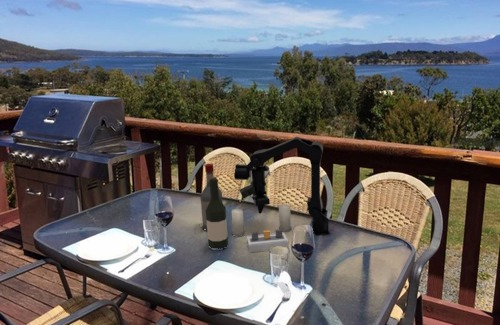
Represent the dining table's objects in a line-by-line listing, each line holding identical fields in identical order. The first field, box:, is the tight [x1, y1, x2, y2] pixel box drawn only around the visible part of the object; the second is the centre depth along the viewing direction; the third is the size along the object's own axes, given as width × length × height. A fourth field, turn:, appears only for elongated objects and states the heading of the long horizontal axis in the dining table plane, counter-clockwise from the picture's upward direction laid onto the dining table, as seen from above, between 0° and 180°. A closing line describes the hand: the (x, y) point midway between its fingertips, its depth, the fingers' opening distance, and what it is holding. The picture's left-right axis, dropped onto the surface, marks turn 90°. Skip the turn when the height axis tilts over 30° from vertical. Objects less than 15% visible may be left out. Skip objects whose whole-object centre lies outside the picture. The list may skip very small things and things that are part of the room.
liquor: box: [200, 163, 224, 231], centre depth 191 cm, size 9×9×30 cm
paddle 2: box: [275, 228, 282, 238], centre depth 174 cm, size 2×1×3 cm, turn 98°
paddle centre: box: [263, 229, 271, 239], centre depth 173 cm, size 2×1×3 cm, turn 97°
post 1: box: [231, 208, 246, 237], centre depth 186 cm, size 6×6×11 cm
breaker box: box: [246, 232, 290, 253], centre depth 174 cm, size 16×9×3 cm, turn 97°
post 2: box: [278, 203, 293, 233], centre depth 188 cm, size 6×6×11 cm
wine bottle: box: [206, 176, 229, 249], centre depth 172 cm, size 8×8×30 cm
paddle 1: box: [251, 230, 259, 240], centre depth 173 cm, size 2×1×3 cm, turn 97°
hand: (260, 213), depth 189 cm, fingers closed
